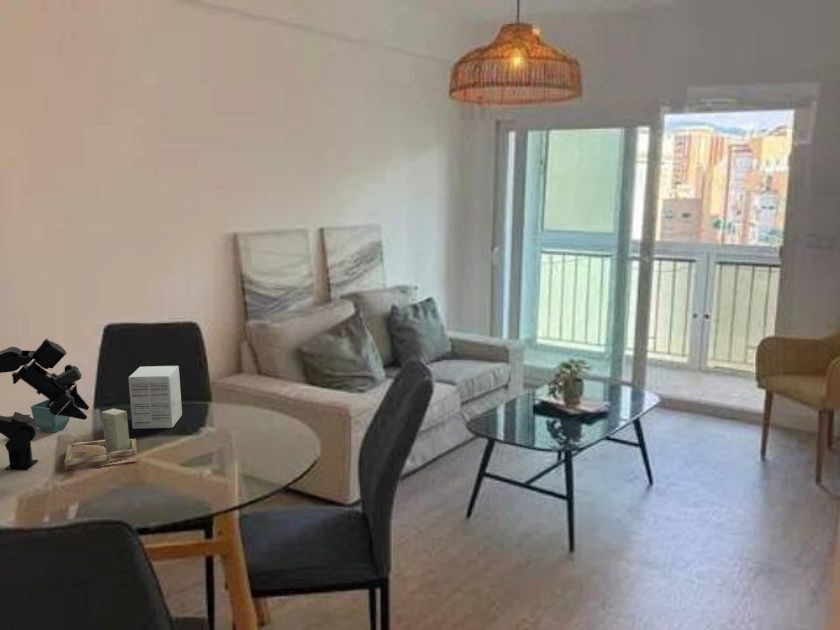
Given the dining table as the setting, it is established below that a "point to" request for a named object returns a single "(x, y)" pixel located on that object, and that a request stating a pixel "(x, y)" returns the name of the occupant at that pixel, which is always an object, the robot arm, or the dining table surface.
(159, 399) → the supplement box
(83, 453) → the keyhole guide
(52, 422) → the flower pot
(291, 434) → the dining table surface
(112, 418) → the skincare box
